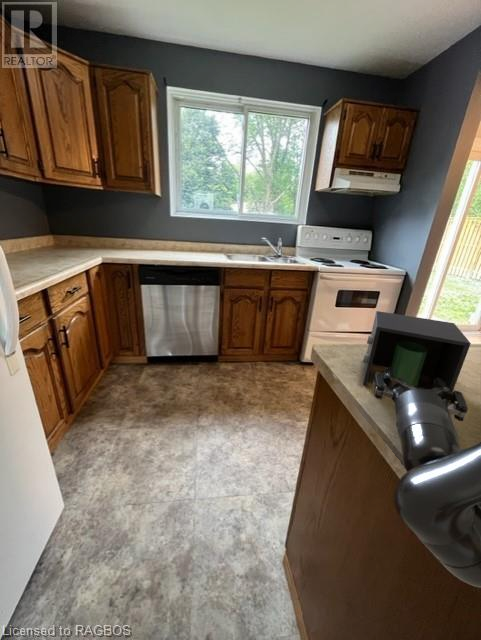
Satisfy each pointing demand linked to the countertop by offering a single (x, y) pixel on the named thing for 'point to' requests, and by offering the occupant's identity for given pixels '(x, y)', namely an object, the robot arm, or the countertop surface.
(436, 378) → the robot arm
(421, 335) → the dark grey open box
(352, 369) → the countertop surface
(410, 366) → the green cylinder
